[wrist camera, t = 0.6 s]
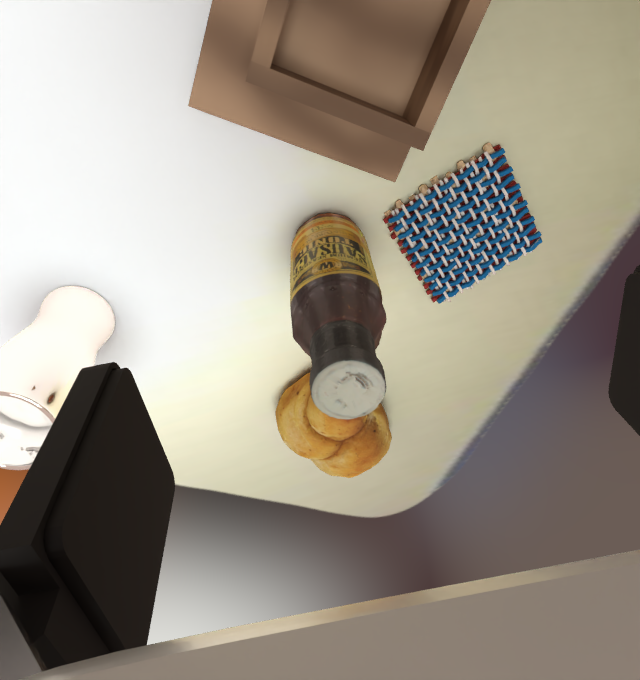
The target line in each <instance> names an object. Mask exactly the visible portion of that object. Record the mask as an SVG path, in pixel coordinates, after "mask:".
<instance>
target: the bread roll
mask: <svg viewBox="0 0 640 680" xmlns="http://www.w3.org/2000/svg"><path fill="white" fill-rule="evenodd" d="M309 380H310V373H308V374H306V375H304V376H303V377H302V378H301V379H299V380H298V381H297V382H295V383H294V384H293V385H291V386H290V387H289V388H287V389H286V390H285V391H284V393H283V394H282V396H281V398H280V400H279V402H278V406H277V408H276V420H277V425H278V430H279V432H280V434H281V437H282V439H283V441H284V443H285V444H286V445H287V446H288V447H289V448H290V449H291V450H293V451H294V452H295V453H296V454H298V455H300V456H302V457H305V458H308V459H311V460H312V461H313V463H314V464H315V465H316V466H317V467H318V468H319V469H320V470H322V471H324V472H325V473H327V474H329V475H331V476H341V477H348V478H351V477H354V476H357V475H359V474H361V473H363V472H365V471H366V470H369V469H371V468H372V467H373V466H374V465H376V464H377V463H378V462H379V461H380V460H381V459H382V457H383V456H384V455H385V454H386V453H387V451H388V449H389V446H390V442H391V438H392V436H391V433H390V430H389V423H388V418H387V415H386V413H385V411H384V409H383V406H382V405H381V403H380V404H379V405H378V407H377V408H376V409H375V410H373V411H372V412H371V413H369V414H367V415H365V416H361V417H358V418H354V419H337V418H334V417H330V416H328V415H327V414H325V413H323V412H322V411H320V410H319V409H318V408H317V407H316V405H315V404H314V402H313V399H312V398H311V391H310V383H309Z"/></svg>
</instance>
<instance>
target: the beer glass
mask: <svg viewBox="0 0 640 680" xmlns="http://www.w3.org/2000/svg"><path fill="white" fill-rule="evenodd" d="M114 327H115V317H114V313H113V310H112V308H111V307H110V305H109V304H108V302H107V301H106V300H105V299H104V298H103V297H101V296H100V295H99V294H97V293H96V292H94V291H92V290H90V289H87V288H84V287H79V286H64V287H60V288H57V289H55V290H53V291H52V292H50V293H49V294H48V295H47V296H46V297H45V299H44V300H43V302H42V304H41V307H40V310H39V313H38V316H37V318H36V319H35V321H34V322H33V323H31V324H30V325H29V326H28V327H26V328H25V329H24V330H22V331H21V332H20V333H18V334H17V335H15V336H14V337H13V338H11V339H10V340H9V341H8V342H6V343H5V344H4V345H3V346H2V347H1V348H0V468H3V469H10V470H26V469H30V467H31V465H32V463H33V461H34V459H35V457H36V455H37V453H38V451H39V449H40V447H41V446H42V444H43V442H44V440H45V438H46V436H47V434H48V432H49V430H50V428H51V426H52V424H53V422H54V420H55V418H56V416H57V415H58V413H59V411H60V409H61V407H62V405H63V403H64V401H65V399H66V397H67V395H68V393H69V391H70V389H71V387H72V385H73V383H74V382H75V380H76V378H77V376H78V374H79V372H80V370H81V369H82V368H85V367H91V366H94V365H95V359H96V355H97V352H98V350H99V349H100V347H101V346H102V345H103V344H104V343H105V342H106V341H107V340H108V339H109V338H110V336H111V335H112V333H113V331H114Z"/></svg>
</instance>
